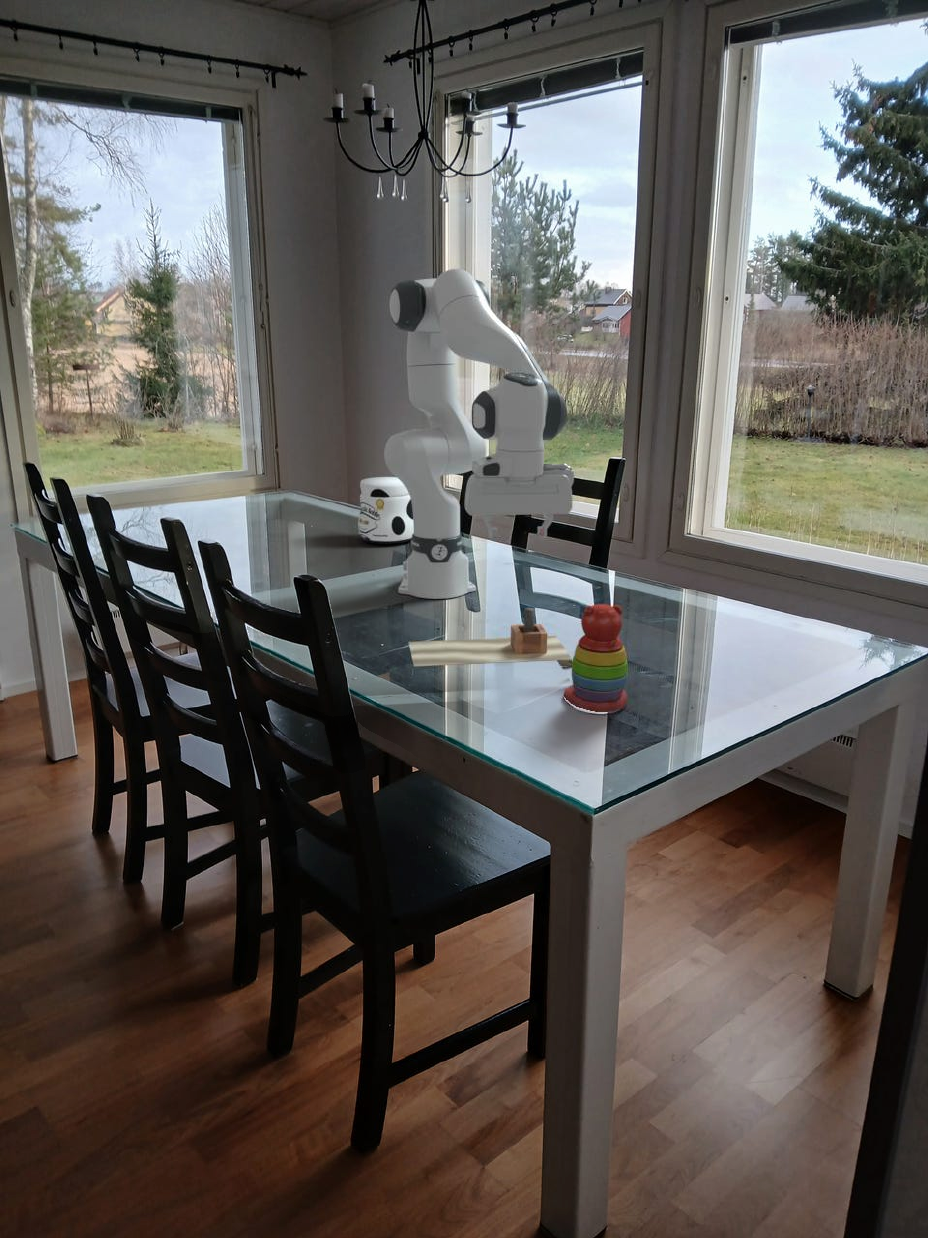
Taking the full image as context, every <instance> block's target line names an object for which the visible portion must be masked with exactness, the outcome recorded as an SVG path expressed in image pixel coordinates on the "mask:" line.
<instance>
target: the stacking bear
mask: <svg viewBox="0 0 928 1238" xmlns="http://www.w3.org/2000/svg"><path fill="white" fill-rule="evenodd" d="M622 613H623V608H622V606H620V605H619V604H615V605H613V606H612V605H610V604H605V603H603V604H602V603H600V604H599V603H598V604H593V605H587V606H586V607H585V608H584V609H583V613H582V615H581V618H580V619H581V620H580V621H581V622H580V624H581V625H580V626H581V628H582V632H583V634H584V635H582V636H581V637H580V638H579V639H578V644H577V645H576V648H575V651H574V655H573V657H572V667H571V679H572V685H573V686H569V687H567V688H565V689H564V692H563V696H564V697H565V698H566V700H568V701H569V702H570V703H571V704H573V705H575V706H576V707H579V708H583V709H586V710H590V711H595V712H609V711H615V710H618V709H620V708H623V707H624V706H625V705H626V706H627V704H628V695H627V692H626V690H625V689H624V688H625V686H626V682H627V679H628V672H629V669H628V668H629V667H628V666H629V665H628V660H627V652H626V648H625V646H624V645H623V641H622V640H621V639H620V637H619V635H620V632H621V631H622V627H623V618H622ZM564 697H563V698H564ZM626 703H627V704H626ZM626 706H625V707H626ZM625 707H624V708H625ZM624 708H623V709H624Z"/></svg>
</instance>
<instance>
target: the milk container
mask: <svg viewBox="0 0 928 1238" xmlns="http://www.w3.org/2000/svg"><path fill="white" fill-rule="evenodd" d="M359 494H360V495H359V501H360V512H359V516H358V521H357V528H358V535H359V536H360V538H361V539H362V540H363V541H365V542H368V543H371V544H379V545H393V544H394V545H395V544H400V543H406V542H409V541H410V540H412V534H413V533H414V525H413V509H412V502H411V498H410V495H409V493H408V491H407V489H406V487H405V485H404V484H403V483H402V482H401V480H400V479H398V478H397V477H396V476H377V477H375V476H374V477H369V478H364V479H361V480H360V482H359Z"/></svg>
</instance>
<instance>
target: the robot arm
mask: <svg viewBox="0 0 928 1238" xmlns="http://www.w3.org/2000/svg"><path fill="white" fill-rule="evenodd" d="M489 293H490V292H489V290H488V287H486V285H485V283H484V282H483V281H480V280H478V279H475V278H474V277H473V275H472V274H471V273H470V272H469V271H467V270H465V269H461V268H450V269H448V270H445V271H443V272H442V273H441V274H439V275H438V276H437V277H436V278H423V279H415V280H414V279H407V280H402V281H399V282H397V283H396V284H395V285H394V287H393V288H392V289H391V292H390V298H389V313H390V315H391V320H392V322H393V324H394V325H395V326H396V327H397V329H399V330H402V331H404V332H407V338H406V339H407V341H406V367H407V368H406V373H407V384H408V385H407V388H408V398H409V401H410V403H411V404H412V406H413V407H414V408H415V409H417V410H419V411H421V412H423V413H424V414H425V416H426V417H427V419H428V421H429V424H430V428H419V429H418V428H417V429H410V430H409V429H408V430H406V431H405V430H404V431H402V432H399V433H396V434H393V435H391V436H390V437H389V438H388V440H387V442H386V444H385V445H384V446H385V447H384V449H383V450H384V451H383V457H384V459H383V460H384V463H385V465H386V467H387V469H388V471H389V472H390V473H391V474H392V475H394V476H393V477H397V478H398V479H400V480H401V482H402V483H403V484H404V485H405V487H406V489H407V491H408V493H409V495H410V498H411V502H412V509H413V525H414V533H413V534H412V539H411V541H410V542H411V549H412V552H411V553H410V555H409V556H408V557H407V558H406V560H404V561H403V571H404V572H405V571H406V572H405V573H404V575H403V579H402V581H401V583H400V585H399V586H398V593H399V594H402V595H409V596H413V597H415V598H422V599H430V600H431V599H432V600H433V599H434V600H437V599H439V600H441V599H452V598H458V597H460V596H463V595H465V594H467V593H470V592H471V593H472V592H475V591H476V590H477V586H476V585H475V584H474V583H472V582H471V581H470V577H469V575H470V574H469V557H468V556H466V554H464V552H463V551H462V549H463V538H462V537H463V536H462V533H461V505H460V502H459V500H458V499H457V498H456V496H455V495H453V494H452V493H450V492H448V491H446V490H444V488H443V486H442V482H441V478H442V476H449V475H451V476H452V475H459V474H464V473H467V472H470V471H472V473H473V474H471V475H470V476H469V477H468V480H467V482H466V487H465V493H464V509H465V511H466V513H467V514H468V515H469V516H482V520H483V521H484V523H485V524H486V527H487V528H488V538H489V539H498V538H499V537H498V534H499V533H498V531H499V529H498V528H497V527H493V526H492V523H490V521H491V522H492V521H493V516H508V515H509V516H510V515H511V516H512V515H513V516H514V515H516V516H517V515H518V516H520V515H521V516H522V515H543V518H544V519H545V520H544V521H543V523H542V525H541V526H537V532H536V535H537V537H538V538H547V537H548V529H549V527H550V525H552V522H553V521H554V515H567V514H570V512H571V511H572V510H573V507H574V506H573V504H574V503H573V489H572V486H573V484H574V482H575V471H574V469H573V468H572V467H571V466H568V465H567V464H566V463H559V464H557V463H556V464H555V463H545V444H544V441H547V442H549V441H550V442H551V441H552V440H554V439H555V438H556V437H557V436H558V435H559V434H560V433H561V431H562V430H563V429H564V428H565V426H566V424H567V420H568V409H567V408H568V407H567V404H566V401H565V399H564V398H563V396H562V394H561V393H560V391H558V389H557V388H555V386H554V385H553V384H552V383H551V382H550V381H549V379H548V378H547V377H546V375H545V373H544V372H543V370H542V369H541V367H540V365H539V364H538V362H537V361H536V359H535V358H534V355H533V354H532V353H531V351H530V350H529V348H528V346H527V345H526V344H525V342H524V341H523V340H522V339H523V338H521V337H520V336H519V334H517V333H516V332H515V331H513V330H512V329H510V328H509V327H508V326H507V325H505V324H504V323H503V322H502V321H501V320H500V318H499V317H497V316H496V314H495V313H494V312H493V310H492V308H491V299H490V298H491V297H490V294H489ZM456 356H459V357H460V358H463V359H465V360H469V361H475V362H478V363H484V364H488V365H491V366H495V367H497V368H500V369H501V370H504V371H505V372H506V373H505V374H504V375H502V376H501V378H500V380H499V383H498V384H497V385H496V386H494V387H492V388H489V389H487V390H483V391H481V392H480V393H479V394H478V395H477V396H476V397H475V398H474V401H473V402H472V405H471V423H470V421H469V420H468V418H467V416H466V415H465V413H464V411H463V408H462V405H461V402H460V399H459V392H458V384H457V383H458V382H457V367H456ZM486 440H489V441H497V444H496V448H495V449H496V451H495V453H492V454H489V455H487V443H486Z"/></svg>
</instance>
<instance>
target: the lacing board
mask: <svg viewBox="0 0 928 1238" xmlns="http://www.w3.org/2000/svg"><path fill="white" fill-rule="evenodd" d="M523 611H524V613H523V619H524V620H523V625H524V632H534V624H535V618H536V617H535V616H536V615H535V614H536V612H535V611H536V609H535V608H533V607H525V608H524V609H523ZM407 643H408V647H409V650H410V651H409V653H410V654H411V655H410V656H411V661H412V664H413V667H429V666H431V667H434V666H456V665H476V664H478V665H479V664H482V665H483V664H497V663H499V664H500V663H501V664H502V663H520V662H521V663H525V662H526V663H527V662H543V661H544V662H548V661H556V662H557V663H558V664H559V667H561V666H572V663H571V662H572V661H573V657H572V656H570V654H569V652H568V651H567V650H566V649H565V647H564V645H563V644H562V643H561V641H560V639H559V638H558V637H557V636H556V635H547V653H538V654H516V653H515V651H514V650H513V648H512V646H511V637H499V638H498V637H495V638H494V637H493V638H492V637H491V638H473V639H472V638H471V639H470V638H469V639H451V640H450V639H446V640H426V641H425V640H424V641H420V640H419V641H408V642H407ZM569 661H571V662H569Z"/></svg>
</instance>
